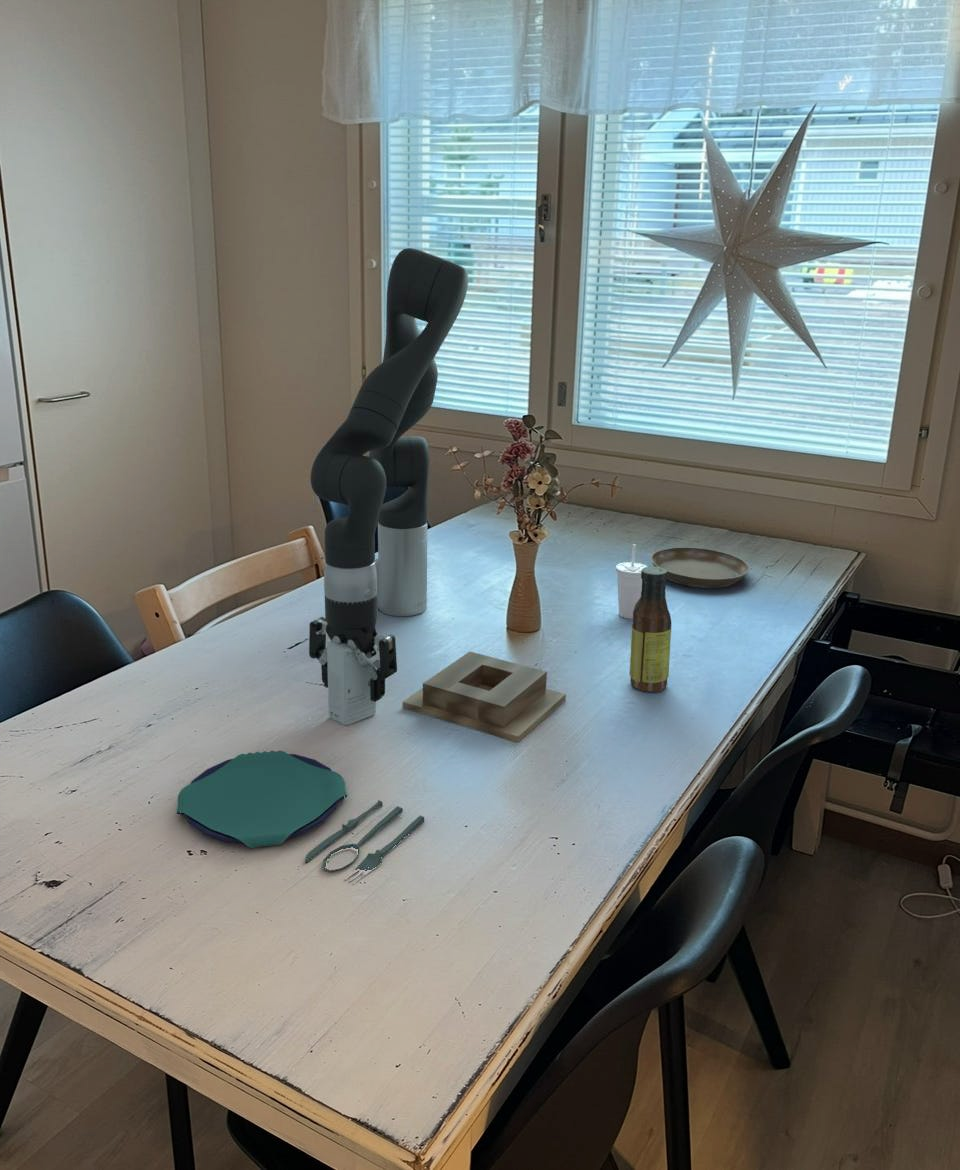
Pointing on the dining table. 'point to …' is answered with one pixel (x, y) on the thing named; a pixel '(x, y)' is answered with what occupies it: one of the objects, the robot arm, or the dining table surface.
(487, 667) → the socket holder
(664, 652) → the sauce bottle
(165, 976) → the dining table surface
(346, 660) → the skincare box
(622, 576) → the smoothie
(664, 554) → the plant saucer
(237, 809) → the cutlery set
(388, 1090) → the dining table surface
